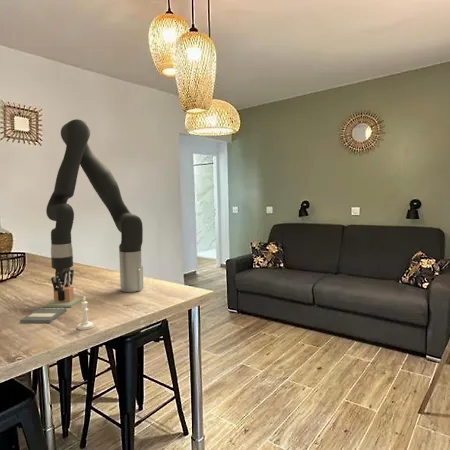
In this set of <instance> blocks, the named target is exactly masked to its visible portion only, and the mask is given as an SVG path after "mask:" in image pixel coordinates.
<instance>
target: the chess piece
mask: <svg viewBox="0 0 450 450" xmlns="http://www.w3.org/2000/svg"><path fill="white" fill-rule="evenodd" d="M86 300H87V297H86V295H85V296H82V301H81V303H80V305H81V307H82V308H81V309H80V311H81V312H82V321H81V322H80V323H78V324H77V326H76V329H78V330H79V331H82V330H85V331H86V330H89V329H90V330H91V329H92V328H93V327H94V326H95V325H94V323H93V322H92V321H90V320H88V318H89V317H88V314H87V311H89V308H87V307H88V303H89V302H88V301H86Z"/></svg>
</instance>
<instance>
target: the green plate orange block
mask: <svg viewBox="0 0 450 450" xmlns="http://www.w3.org/2000/svg"><path fill="white" fill-rule="evenodd" d="M64 294H65V300H64V301H59V300H58V291H54V290H53V299H52V300H50V301H48V302H46V303H45V304H44V305H43V306H44V307H43V308H72V307H73V306H75V305H76V304H77V303H79V302H80V301H81V300H82V298H81V297H75V293H74V286H70V287H64Z"/></svg>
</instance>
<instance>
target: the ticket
mask: <svg viewBox="0 0 450 450" xmlns="http://www.w3.org/2000/svg"><path fill="white" fill-rule="evenodd" d="M67 308H68V307H39V308H37V309H35V310H34V311H32V312H30V313H29V314H27V315H26V316H24V317H22V318H21V319H20V320H19V321H20V323H22V324H23V323H24V324H25V323H26V324H27V323H28V324H32V323H33V324H34V323H36V324H41V323H42V324H44V323H45V324H47V323H48V324H51V323H52V322H54V321H55V320H56V319H58V318H59V317H60V316H61V315H62V316H63V314H65V313H66V312H67V311H68V310H67Z"/></svg>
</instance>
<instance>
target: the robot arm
mask: <svg viewBox="0 0 450 450" xmlns="http://www.w3.org/2000/svg"><path fill="white" fill-rule="evenodd" d="M90 136H91V129H90V126H89V125H88V124H87V122H86V121H84V120H82V119H78V118H77V119H71V120H70V121H68V122H67V123H65V124H64V125H63V126H62V127H61V129H60V138H61V139H62V141H63V143H64V144H65V145H66V147H65V152H64V155H63V158H62V161H61V163H60V165H59V168H58V171H57V175H56V178H55V183H54V189H53V192H52V194H51V195H50V198H49V200H48V202H47V205H46V209H45V212H46V216H47V218H48V219H49V220H50V221H53V222H55V227H54V228H52V229H51V231H50V245H51V246H50V259H51V260H50V261H51V268H52V269H54V270H55V273H54V274H55V276H52V277H51V278H50V280H51V284H52V286H53V292H54V291H58V300H59V301H64V300H65V294H64V287H71V286H72V285H73V281H74V269H71V268H72V267H74V255H73V254H74V253H73V252H74V251H73V245H72V244H73V243H72V229H73V226H74V219H75V212H74V209H73V207H72V205H70V204H69V203H68V200H69V199H72V198H73V197H74V195H75V190H76V185H77V181H78V175H79V170H80V167H81V169H82V171H83V172H84V174H85V176H86V177H87V179H88V181H89V183H90V184H91V186H92V188H93V189H94V191H95V193H96V194H97V195H98V197H99V199H100V200H101V202H102V203H103V204H104V206H105V207H106V209H107V210H108V212H109V214H110V216H111V219H112V220H113V222H114V224H115V226H116V228H117V230H118V231H119V233H120V234H121V237H120V238H121V241H120V243H119V246H118V252H119V253H118V255H119V256H118V257H119V284H120V285H119V286H120V292H124V293H133V292H140V291H142V290H143V289H144V266H142V265H143V264H142V246H143V241H144V240H143V239H144V238H143V233H144V232H143V231H144V228H143V222H142V219H141V217H140V216H138V215H137V214H133V213H132V212H131V211H130V210H129V209H128V207H127V205H126V204H125V202H124V200H123V197H122V195H121V190H120V187H119V184H118V183H117V180H116V178H115V177H114V175H113V173H112V172H111V170H110V169H109V167H108V166H107V165H106V164H105V163H104V162H103V161H102V160H101V159H100V158H99V157H98V156H97V155H96V154H95V153H94V151H93V150H92V148H91V146H90V144H89V139H90Z"/></svg>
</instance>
